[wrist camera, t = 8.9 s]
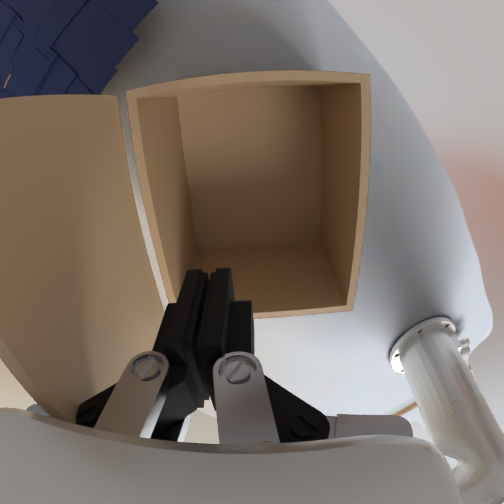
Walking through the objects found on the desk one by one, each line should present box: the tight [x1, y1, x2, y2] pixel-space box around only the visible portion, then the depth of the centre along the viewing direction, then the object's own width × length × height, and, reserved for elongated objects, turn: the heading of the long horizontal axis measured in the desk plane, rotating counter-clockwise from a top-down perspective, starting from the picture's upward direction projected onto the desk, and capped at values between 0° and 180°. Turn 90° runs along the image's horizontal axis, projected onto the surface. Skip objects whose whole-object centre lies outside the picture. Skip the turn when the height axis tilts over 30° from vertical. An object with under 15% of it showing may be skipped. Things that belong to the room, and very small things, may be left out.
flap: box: [0, 94, 165, 424], centre depth 12 cm, size 14×17×1 cm
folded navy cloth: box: [0, 0, 158, 99], centre depth 19 cm, size 24×30×4 cm
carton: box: [126, 70, 371, 319], centre depth 23 cm, size 14×17×11 cm
